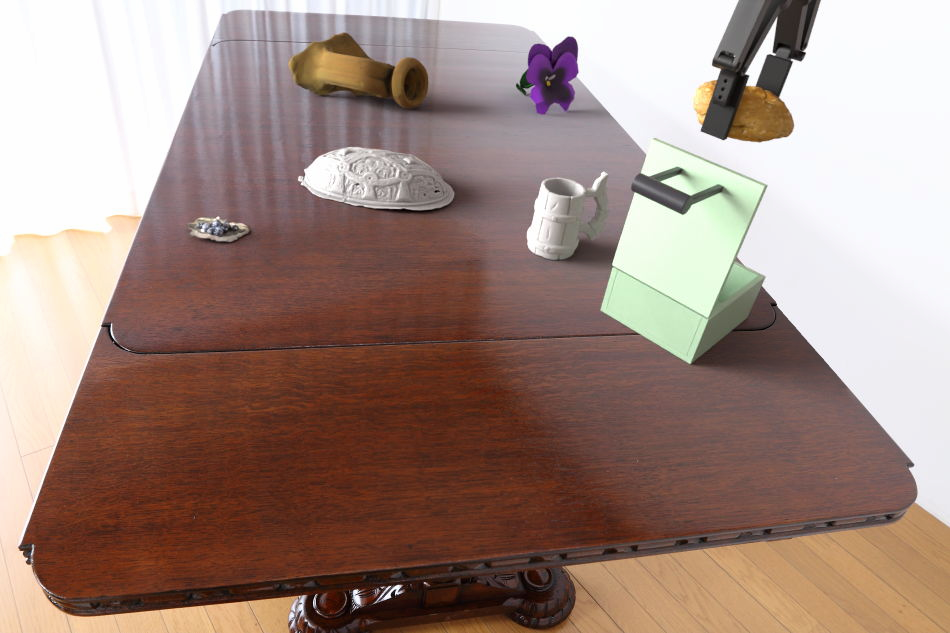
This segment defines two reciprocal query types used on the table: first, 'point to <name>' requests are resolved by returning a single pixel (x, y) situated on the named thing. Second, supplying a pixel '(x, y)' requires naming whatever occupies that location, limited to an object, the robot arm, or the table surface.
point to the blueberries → (217, 229)
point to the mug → (565, 216)
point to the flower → (551, 74)
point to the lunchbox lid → (686, 225)
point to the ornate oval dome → (376, 180)
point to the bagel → (750, 114)
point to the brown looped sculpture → (358, 72)
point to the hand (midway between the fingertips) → (736, 125)
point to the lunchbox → (681, 311)
